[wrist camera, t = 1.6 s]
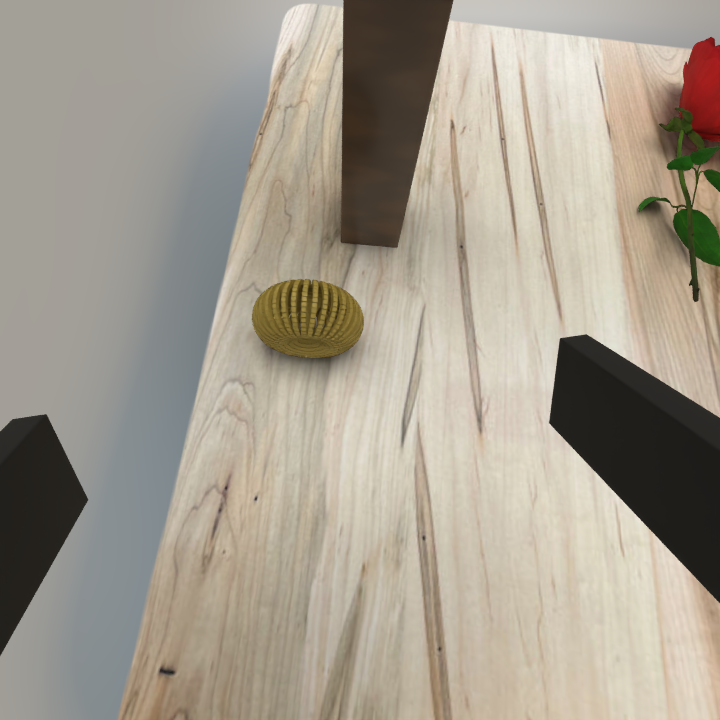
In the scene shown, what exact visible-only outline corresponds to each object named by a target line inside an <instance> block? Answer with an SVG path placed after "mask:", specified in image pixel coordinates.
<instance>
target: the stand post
mask: <svg viewBox="0 0 720 720" xmlns="http://www.w3.org/2000/svg"><path fill="white" fill-rule="evenodd" d="M452 4H453V0H344V6H343V101H342V196H341V242H345V243H355V244H366V245H377V246H387V247H398V242H399V238H400V233H401V229H402V225H403V220H404V216H405V211H406V207H407V203H408V198H409V194H410V189H411V185H412V180H413V176H414V172H415V167H416V163H417V158H418V154H419V150H420V145H421V141H422V136H423V132H424V128H425V123H426V119H427V114H428V110H429V105H430V101H431V97H432V92H433V88H434V83H435V79H436V75H437V70H438V66H439V61H440V57H441V53H442V48H443V44H444V39H445V35H446V31H447V26H448V22H449V17H450V13H451V8H452Z"/></svg>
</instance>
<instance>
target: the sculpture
mask: <svg viewBox="0 0 720 720" xmlns="http://www.w3.org/2000/svg"><path fill="white" fill-rule="evenodd" d="M298 312H299V313H298ZM290 314H291V316H290ZM297 314H298V316H297ZM315 315H316V316H315ZM327 315H328V316H327ZM289 316H290V318H289ZM281 317H283V318H281ZM316 317H317V324H318V325H317V326H316V328H315V326H314V325H315V318H316ZM274 318H275V319H274ZM252 320H253V321H252V322H253V326H254V329H255V332H256V333H257V335H258V336H259V337H260V339H261V340H262V341H263V342H264V343H265V344H266V345H268V346H269V347H271V348H272V349H274V350H277V351H280V352H282V353H284V354H289V355H292V356H293V355H294V356H297V357H298V356H299V357H300V356H301V357H306V356H307V357H309V358H311V357H312V358H320V357H321V358H323V357H330V356H335V355H339V354H340V353H343V352H345V351H347V350H349V349H350V348H351V347H353V345H355V343H356V342H357V341H358V339H359V338H360V336H361V334H362V331H363V326H364V319H363V313H362V311H361V308H360V306H359V305H358V303H357V301H356V300H355V299H354V298H353V297H352V296H351V295H350V294H349V293H347V292H346V291H345V290H343V289H341V288H339V287H337V286H334V285H332V284H330V283H328V284H327V283H326V282H322V281H320V282H319V283H318V281H317V280H313V281H312V284H311V282H310V280H308V279H305V281H304V280H302V279H298V280H290V281H288V282H287V281H286V282H285V281H284V282H281V283H279V284H275V285H274V286H271V287H270V288H268V289H267V290H266V291H265V292H263V293H262V294H261V295H260V296H259V298H258V299H257V301H256V302H255V305H254V307H253V314H252ZM335 320H336V321H335ZM300 321H301V322H300ZM342 322H343V323H342ZM300 323H301V326H302V327H301V330H300V329H299V328H300V326H299V325H300ZM324 323H325V324H324ZM348 323H349V324H348ZM322 324H324V325H325V327H324V328H323V329H322V327H323V325H322ZM292 325H293V326H292ZM331 326H332V327H331ZM330 328H331V329H330Z"/></svg>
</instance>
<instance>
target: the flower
mask: <svg viewBox="0 0 720 720" xmlns="http://www.w3.org/2000/svg"><path fill="white" fill-rule="evenodd" d="M683 77H684V85H683V89H682V93H681V98H680V108H675V110H678V111H680V118H681V119H679V118H678V117H674V118H673V119H672V120H671V121H670V122H669V123H668V125H663V124H659V125H660V126H661V127H663V128H664V129H665V130H667V131H679V132H680V134H679V137H678V143H677V155H676V156H677V158H676V159H674V160H672V161H671V162H670V163H668V164H667V168H668V169H669V170H673V169H676V170H678V173H679V180H680V184H681V188H682V191H683V194H684V197H685V200H686V206H685V205H679V206H672V205H671V203H670V201H669V200H668V199H667V198H657V197H649V198H647V199H645V200H644V201H643V202H642V203H641V204H640V205H639V212H640V211H641V210H642V209H643V208H644V207H645V206H646V205H648V204H649V203H650V202H652V201H666V202H669V203H670V205H671V206H672V207H673V208H677V209H676V210H677V212H678V208H679V207H681V206H682V207H685V208H686V209H681V210H680V211H679V212H678V213H676V214H675V215H674V219H673V223H674V224H673V225H674V228H675V231H676V233H677V235H678V236H679V238H680V239H681V241H682V242H683V244H684V245H685V246H686V247H687V248H688V249H689V254H690V264H691V275H692V279H691V281H690V284H689V286H690V285H692V288H693V300H694V301H695V302H697V301H698V295H699V288H698V279H697V267H696V258H695V256H696V257H697V258H699V259H701V260H702V261H703V262H706V263H708V264H711V265H716V266H720V239H719V235H718V233H717V230H716V227H715V226H714V225H713V224H712V223H711V221H710V219H709V218H708V217H707V216H706V215H705V214H703V213H702V212H700V211H698V210H693V209H692V207H693V203H694V198H695V192H696V188H697V184H698V179H699V175H700V173H701V172H704V175H705V177H706V178H707V180H708V181H709V182H710V183H711V184H712V185H713V186H714V187H715V188H716V189H717V190H718V191H719V192H720V173H719V172H717V171H714V170H705V171H700V172H699V174H698V171H699V168H700V165H701V164H704V163H706V162H707V161H708V160H709V159H710V158H711V157H712V156H713V155H714V153H715V152H716V151H717V150H718V149H719V146H717V147H710V148H705V146H704V142H703V139H705V140H709V141H720V45H718V46H716V47H715V39H714V38H712V37H710V38H708V39H706V40H704V41H701V42H698V43H696V44H695V45H694V47H693V49H692V52H691V55H690V58H689V61H688V64H687V62H686V63H685V65H684V69H683ZM684 133H685V134H688V135H689V138H690V139H691V140H692V142H693V143H694V144H695V145H696V146H697V147H698V150H697V151H694V152H692V153H691V154H690V156H682V154H681V151H682V139H683V136H684ZM693 164H695V165H699V167H698V170H697V171H696V169H695V168H693ZM691 168H693V169H694V170H695V175H696V187H695V192H694V196H693V202H692V205H691V200H690V196H689V193H688V190H687V187H686V184H685V179H684V174H683V170H684V171H686V170H690V169H691Z"/></svg>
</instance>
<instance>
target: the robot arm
mask: <svg viewBox="0 0 720 720" xmlns="http://www.w3.org/2000/svg"><path fill="white" fill-rule="evenodd" d="M549 423H550V424H551V426H552V427H553V428H554V429H555V430H556V431H557V432H558V433H559V434H560V435H561V436H562V437H563V438H564V439H565V440H566V441H567V442H568V443H569V445H570V446H571V447H572V448H573V449H574V450H575V451H576V452H577V453H578V454H579V455H580V456H581V457H582V458H583V459H584V460H585V461H586V462H587V464H588V465H589V466H590V467H591V468H592V469H593V470H594V471H595V472H596V473H597V474H598V475H599V476H600V477H601V478H602V479H603V480H604V481H605V483H606V484H607V485H608V486H609V487H610V488H611V489H612V490H613V491H614V492H615V493H616V494H617V495H618V496H619V497H620V498H621V499H622V500H623V502H624V503H625V504H626V505H627V506H628V507H629V508H630V509H631V510H632V511H633V512H634V513H635V514H636V515H637V516H638V517H639V518H640V519H641V521H642V522H643V523H644V524H645V525H646V526H647V527H648V528H649V529H650V530H651V531H652V532H653V533H654V534H655V535H656V536H657V537H658V538H659V539H660V541H661V542H662V543H663V544H664V545H665V546H666V547H667V548H668V549H669V550H670V551H671V552H672V553H673V554H674V555H675V556H676V557H677V558H678V560H679V561H680V562H681V563H682V564H683V565H684V566H685V567H686V568H687V569H688V570H689V571H690V572H691V573H692V574H693V575H694V576H695V577H696V579H697V580H698V581H699V582H700V583H701V584H702V585H703V586H704V587H705V588H706V589H707V590H708V591H709V592H710V593H711V594H712V595H713V596H714V598H715V599H716V600H717V601H718V602H719V603H720V418H719V417H718V416H716V415H714V414H713V413H711V412H710V411H708V410H706V409H705V408H703V407H702V406H700V405H698V404H697V403H695V402H694V401H692V400H690V399H689V398H687V397H686V396H684V395H682V394H681V393H679V392H678V391H676V390H674V389H673V388H671V387H670V386H668V385H666V384H665V383H663V382H662V381H660V380H659V379H657V378H655V377H654V376H652V375H651V374H649V373H647V372H646V371H644V370H643V369H641V368H639V367H638V366H636V365H635V364H633V363H631V362H630V361H628V360H627V359H625V358H623V357H622V356H620V355H619V354H617V353H615V352H614V351H612V350H611V349H609V348H607V347H606V346H604V345H603V344H601V343H600V342H598V341H596V340H595V339H593V338H592V337H590V336H588V335H587V334H586V335H580V336H573V337H566V338H560V342H559V350H558V358H557V366H556V373H555V381H554V389H553V397H552V405H551V413H550V420H549ZM87 501H88V498H87V496H86V494H85V492H84V491H83V488H82V486H81V484H80V482H79V480H78V478H77V476H76V474H75V472H74V470H73V468H72V466H71V464H70V462H69V460H68V458H67V456H66V453H65V451H64V449H63V447H62V445H61V443H60V441H59V439H58V437H57V435H56V433H55V431H54V429H53V427H52V425H51V423H50V421H49V419H48V417H47V415H46V414H45V415H38V416H31V417H25V418H18V419H13V420H12V421H10V423H8V425H7V426H5V428H3V429H2V431H0V655H1V654H2V652H3V650H4V648H5V646H6V645H7V643H8V641H9V639H10V637H11V636H12V634H13V632H14V630H15V629H16V627H17V625H18V623H19V622H20V620H21V618H22V616H23V614H24V613H25V611H26V609H27V607H28V605H29V604H30V602H31V600H32V598H33V597H34V595H35V593H36V591H37V590H38V588H39V586H40V584H41V583H42V581H43V579H44V577H45V576H46V574H47V572H48V570H49V568H50V567H51V565H52V563H53V561H54V559H55V558H56V556H57V554H58V552H59V551H60V549H61V547H62V545H63V544H64V542H65V540H66V538H67V536H68V535H69V533H70V531H71V529H72V528H73V526H74V524H75V522H76V521H77V519H78V517H79V515H80V513H81V512H82V510H83V508H84V506H85V505H86V503H87Z"/></svg>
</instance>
